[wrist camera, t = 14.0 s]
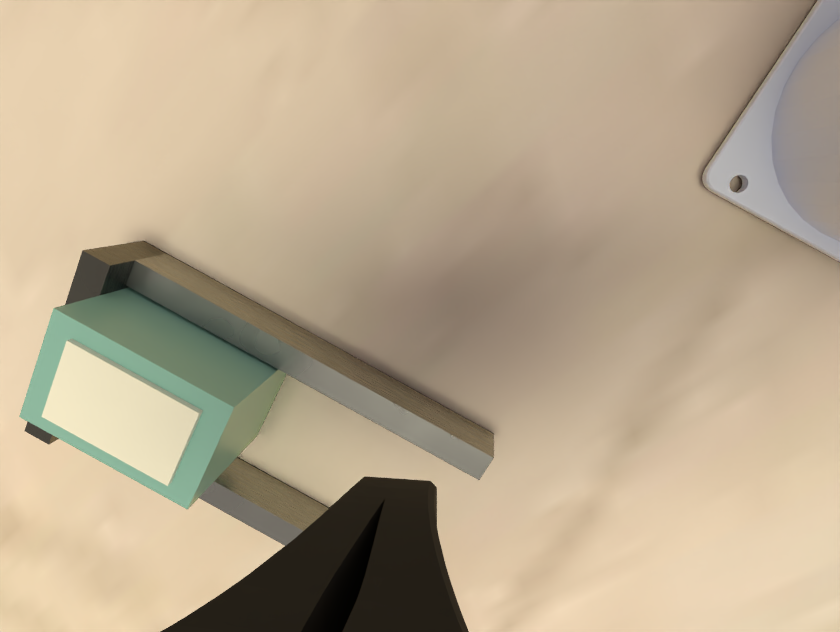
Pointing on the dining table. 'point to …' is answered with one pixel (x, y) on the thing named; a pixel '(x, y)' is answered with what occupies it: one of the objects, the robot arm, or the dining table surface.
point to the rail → (290, 353)
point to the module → (148, 392)
